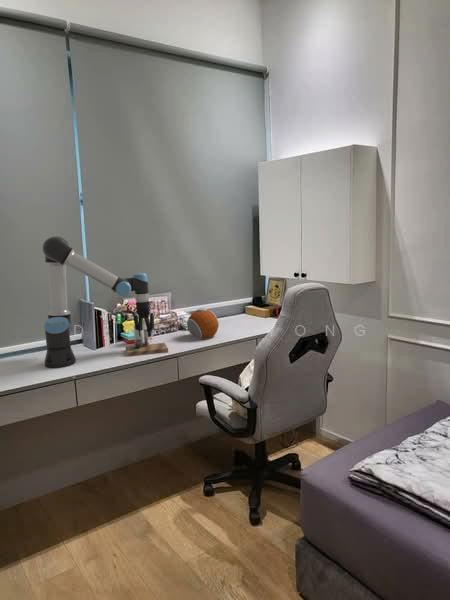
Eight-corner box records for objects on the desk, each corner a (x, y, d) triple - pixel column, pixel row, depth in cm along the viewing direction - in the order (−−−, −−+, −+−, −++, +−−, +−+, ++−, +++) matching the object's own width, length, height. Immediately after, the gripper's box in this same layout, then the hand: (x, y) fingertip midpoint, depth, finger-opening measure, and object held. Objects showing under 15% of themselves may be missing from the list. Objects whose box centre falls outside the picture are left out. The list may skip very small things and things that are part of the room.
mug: (137, 345, 277) (136, 326, 275) (132, 342, 284) (131, 324, 282) (157, 342, 282) (156, 324, 280) (151, 339, 290) (150, 321, 288)
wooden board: (127, 356, 255) (127, 352, 255) (125, 350, 267) (125, 346, 267) (168, 351, 261) (167, 348, 260) (164, 346, 273) (164, 342, 273)
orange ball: (224, 336, 290) (223, 308, 287) (200, 342, 279) (199, 313, 277) (206, 331, 305) (205, 305, 302) (183, 336, 295) (181, 308, 292)
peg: (133, 350, 258) (132, 334, 256) (129, 349, 260) (127, 333, 258) (150, 344, 268) (149, 329, 267) (146, 344, 270) (145, 328, 269)
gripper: (158, 300, 265) (161, 341, 269) (133, 299, 271) (136, 340, 274) (151, 302, 258) (155, 344, 262) (126, 302, 264) (129, 343, 268)
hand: (145, 342), depth 268 cm, fingers open, 3 cm apart
